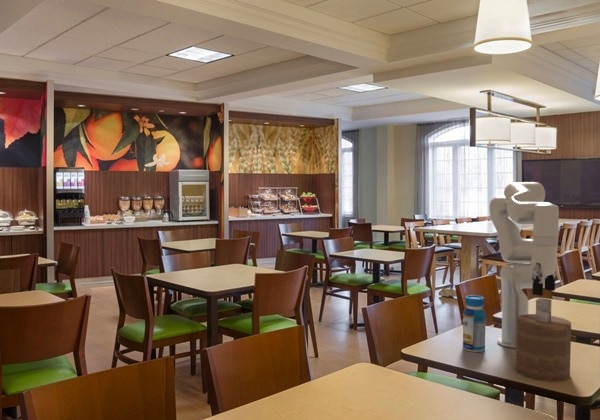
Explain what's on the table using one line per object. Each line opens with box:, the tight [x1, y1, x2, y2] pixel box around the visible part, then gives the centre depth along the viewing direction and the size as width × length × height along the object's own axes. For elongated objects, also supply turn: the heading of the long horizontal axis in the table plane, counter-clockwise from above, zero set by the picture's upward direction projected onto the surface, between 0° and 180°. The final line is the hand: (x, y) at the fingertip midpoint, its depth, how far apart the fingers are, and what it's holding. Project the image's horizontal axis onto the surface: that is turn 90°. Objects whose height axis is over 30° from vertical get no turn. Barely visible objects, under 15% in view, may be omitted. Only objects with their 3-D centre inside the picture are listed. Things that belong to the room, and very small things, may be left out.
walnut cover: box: [515, 297, 572, 382], centre depth 182 cm, size 17×17×24 cm
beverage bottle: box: [462, 294, 487, 353], centre depth 206 cm, size 8×8×20 cm
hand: (543, 292), depth 181 cm, fingers open, 9 cm apart
